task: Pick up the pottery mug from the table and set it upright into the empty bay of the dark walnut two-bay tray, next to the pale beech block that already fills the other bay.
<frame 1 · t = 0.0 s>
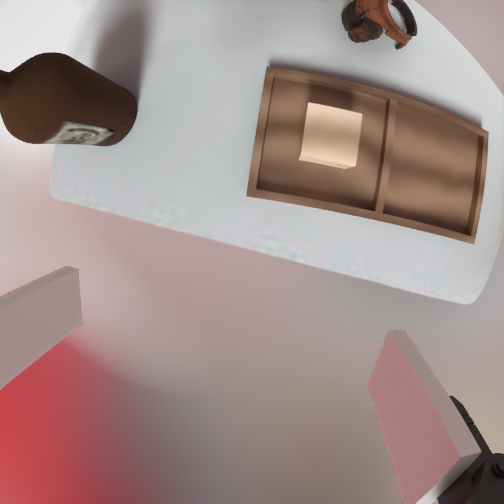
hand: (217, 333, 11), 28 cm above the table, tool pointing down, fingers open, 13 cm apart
walnut tray: (382, 155, 34), on the table
olive oil: (111, 117, 37), on the table
beech block: (325, 141, 34), point 1 cm above the table, touching walnut tray
pottery mug: (370, 31, 30), on the table
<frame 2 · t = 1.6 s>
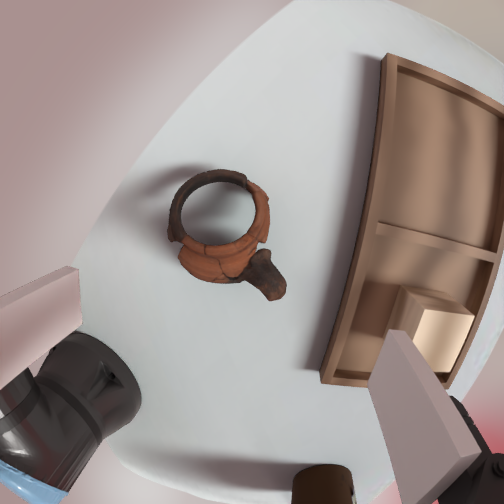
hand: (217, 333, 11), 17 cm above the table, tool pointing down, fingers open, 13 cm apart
walnut tray: (435, 240, 25), on the table
olive oil: (322, 477, 35), on the table
beech block: (415, 315, 26), point 1 cm above the table, touching walnut tray
pottery mug: (236, 236, 28), on the table
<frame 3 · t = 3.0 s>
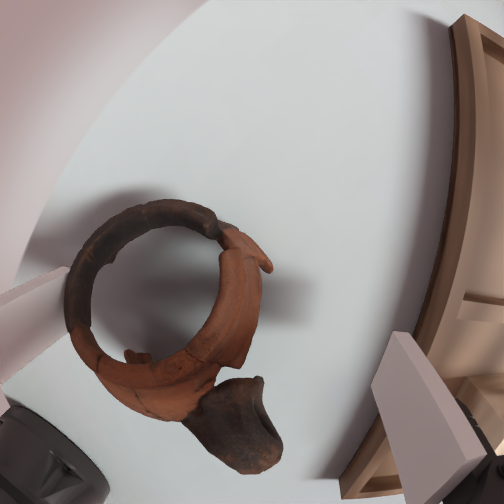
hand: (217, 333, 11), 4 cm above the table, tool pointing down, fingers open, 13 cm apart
beech block: (474, 407, 14), point 1 cm above the table, touching walnut tray
pottery mug: (217, 330, 15), on the table, touching gripper
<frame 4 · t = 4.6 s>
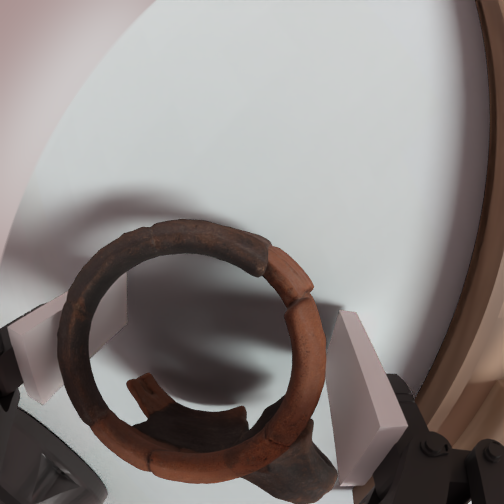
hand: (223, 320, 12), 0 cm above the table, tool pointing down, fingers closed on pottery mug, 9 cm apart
beech block: (500, 412, 12), point 1 cm above the table, touching walnut tray
pottery mug: (232, 346, 13), on the table, touching gripper
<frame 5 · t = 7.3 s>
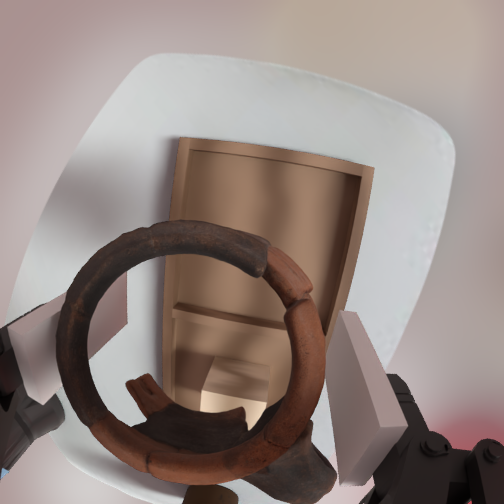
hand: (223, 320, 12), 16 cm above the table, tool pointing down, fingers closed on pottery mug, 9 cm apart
walnut tray: (250, 318, 29), on the table
olive oil: (213, 493, 39), on the table
beech block: (239, 382, 31), point 1 cm above the table, touching walnut tray
pottery mug: (232, 347, 13), point 16 cm above the table, touching gripper
when the fingers open (3 cm above the table, at t = 9.6 s): pottery mug drops 2 cm, resting on walnut tray.
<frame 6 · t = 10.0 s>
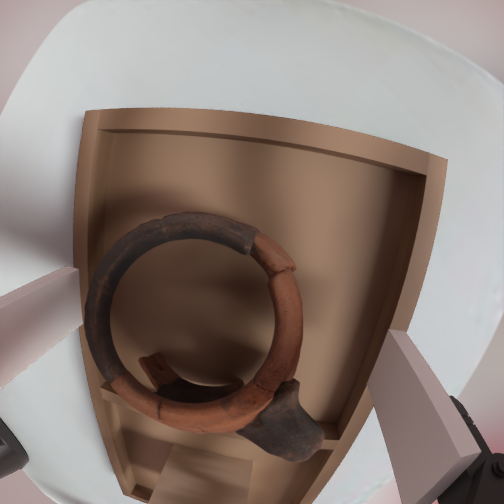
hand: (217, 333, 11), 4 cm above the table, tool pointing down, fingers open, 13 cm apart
walnut tray: (220, 405, 17), on the table
beech block: (210, 472, 18), point 1 cm above the table, touching walnut tray
pottery mug: (231, 324, 15), resting on walnut tray
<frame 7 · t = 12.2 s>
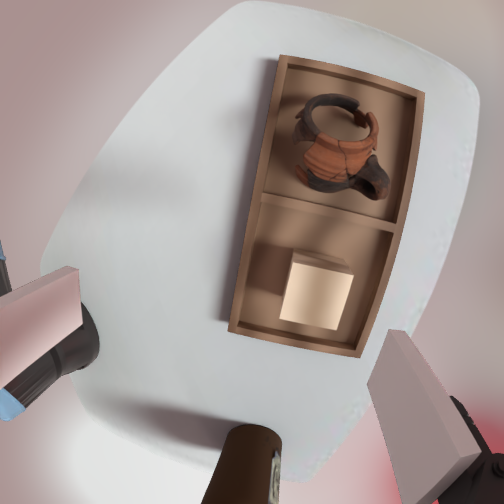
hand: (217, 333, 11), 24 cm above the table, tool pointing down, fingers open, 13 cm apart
walnut tray: (328, 210, 32), on the table
olive oil: (255, 440, 42), on the table
beech block: (313, 278, 34), point 1 cm above the table, touching walnut tray
pottery mug: (338, 156, 30), resting on walnut tray
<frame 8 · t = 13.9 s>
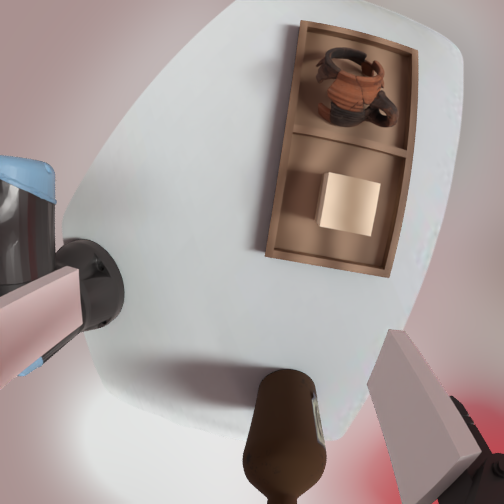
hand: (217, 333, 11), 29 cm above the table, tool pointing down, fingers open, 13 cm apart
walnut tray: (349, 142, 35), on the table
olive oil: (287, 390, 45), on the table
beech block: (340, 201, 36), point 1 cm above the table, touching walnut tray
pottery mug: (351, 99, 33), resting on walnut tray
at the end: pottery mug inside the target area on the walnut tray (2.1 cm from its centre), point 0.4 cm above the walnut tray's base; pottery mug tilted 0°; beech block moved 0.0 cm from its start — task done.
